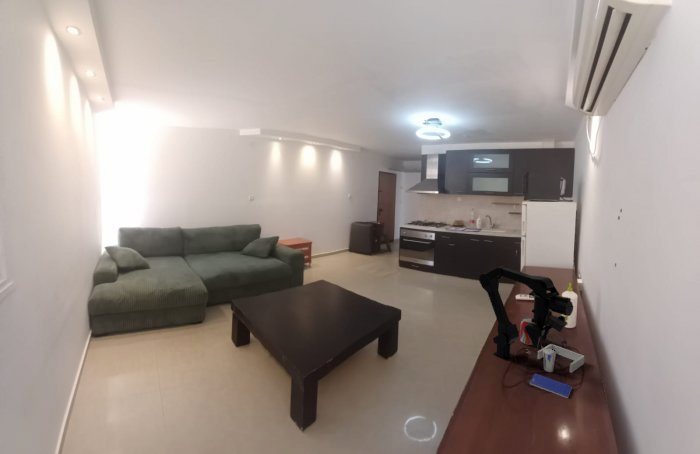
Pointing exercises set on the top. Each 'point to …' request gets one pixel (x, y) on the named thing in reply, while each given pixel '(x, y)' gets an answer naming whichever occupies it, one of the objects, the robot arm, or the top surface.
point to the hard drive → (551, 385)
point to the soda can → (523, 335)
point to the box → (566, 353)
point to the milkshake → (549, 359)
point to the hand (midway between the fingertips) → (540, 344)
